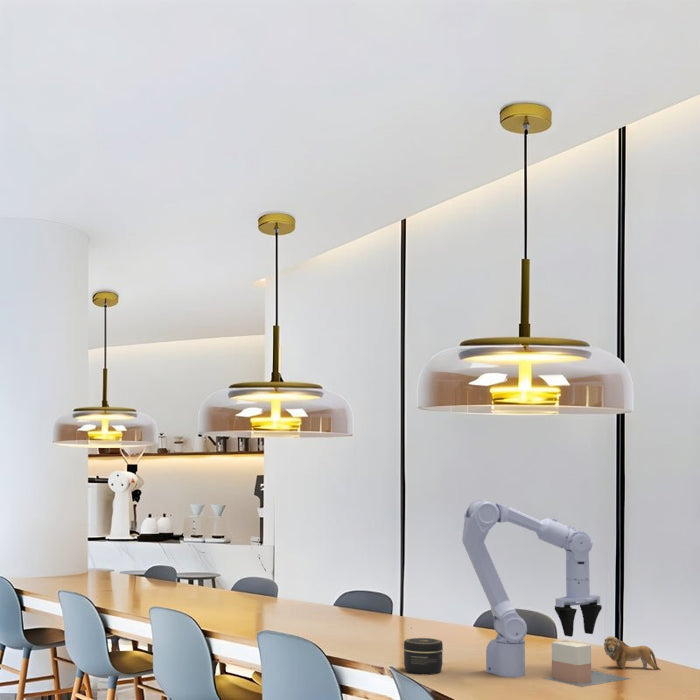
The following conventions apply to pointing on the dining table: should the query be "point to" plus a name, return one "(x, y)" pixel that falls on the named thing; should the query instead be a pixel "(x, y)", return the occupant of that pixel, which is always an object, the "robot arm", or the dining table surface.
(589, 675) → the terracotta brick
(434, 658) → the jar
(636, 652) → the lion figurine
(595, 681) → the baseplate
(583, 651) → the cream brick
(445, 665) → the dining table surface
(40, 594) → the dining table surface
